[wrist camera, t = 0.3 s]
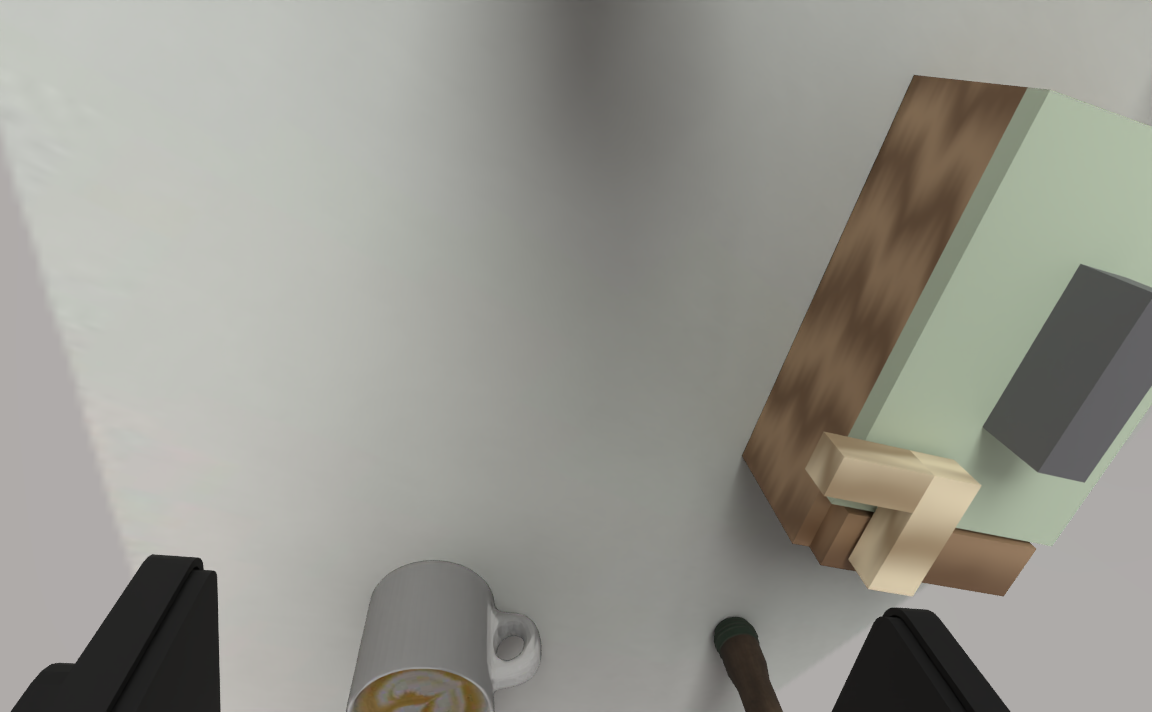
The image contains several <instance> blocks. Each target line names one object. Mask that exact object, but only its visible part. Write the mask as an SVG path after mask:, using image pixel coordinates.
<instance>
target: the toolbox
mask: <svg viewBox="0 0 1152 712" xmlns="http://www.w3.org/2000/svg"><path fill="white" fill-rule="evenodd" d="M1027 88H1028V87H1018V86H1009V85H1000V84H991V83H982V82H973V81H964V80H954V79H945V78H936V77H927V76H918V75H914V76H913V79H912V81H911V83H910V85H909V87H908V90H907V92H906V94H905V96H904V98H903V101H902V103H901V105H900V107H899V110H898V112H897V114H896V116H895V118H894V121H893V123H892V125H891V127H890V129H889V132H888V134H887V136H886V138H885V141H884V143H883V145H882V147H881V149H880V152H879V154H878V156H877V158H876V160H875V163H874V165H873V167H872V169H871V172H870V174H869V176H868V178H867V180H866V183H865V185H864V187H863V189H862V191H861V194H860V196H859V198H858V200H857V203H856V205H855V207H854V209H853V211H852V214H851V216H850V218H849V220H848V222H847V225H846V227H845V229H844V231H843V234H842V236H841V238H840V240H839V242H838V245H837V247H836V249H835V251H834V253H833V256H832V258H831V260H830V262H829V265H828V267H827V269H826V271H825V273H824V276H823V278H822V280H821V282H820V284H819V287H818V289H817V291H816V293H815V296H814V298H813V300H812V302H811V304H810V307H809V309H808V311H807V313H806V315H805V318H804V320H803V322H802V324H801V327H800V329H799V331H798V333H797V335H796V338H795V340H794V342H793V344H792V346H791V349H790V351H789V353H788V355H787V358H786V360H785V362H784V364H783V366H782V369H781V371H780V373H779V375H778V377H777V380H776V382H775V384H774V386H773V389H772V391H771V393H770V395H769V397H768V400H767V402H766V404H765V406H764V408H763V411H762V413H761V415H760V417H759V420H758V422H757V424H756V426H755V428H754V431H753V433H752V435H751V437H750V439H749V442H748V444H747V446H746V448H745V451H744V453H743V455H742V457H743V458H744V460H745V462H746V464H747V465H748V467H749V469H750V470H751V472H752V474H753V476H754V477H755V479H756V481H757V483H758V484H759V486H760V488H761V490H762V491H763V493H764V495H765V497H766V498H767V500H768V502H769V504H770V505H771V507H772V509H773V510H774V512H775V514H776V516H777V517H778V519H779V521H780V523H781V524H782V526H783V528H784V530H785V531H786V533H787V535H788V537H789V538H790V540H791V542H792V544H798V545H804V546H809V547H810V548H811V550H812V552H813V553H814V555H815V557H816V558H817V560H818V562H819V563H820V565H823V566H829V567H835V568H840V569H846V570H852V571H856V570H855V569H854V567H853V565H852V564H851V562H850V561H849V557H850V555H851V553H852V552H853V550H854V548H855V546H856V545H857V543H858V541H859V539H860V537H861V536H862V534H863V532H864V530H865V529H866V527H867V525H868V523H869V521H870V520H871V518H872V516H873V514H874V513H875V512H872V511H866V510H861V509H856V508H851V507H846V506H840V505H835V504H831V502H830V501H829V499H828V498H827V497H826V496H824V495H823V494H822V492H821V491H820V490H819V488H818V487H817V485H816V484H815V482H814V481H813V480H812V478H811V477H810V475H809V474H808V472H807V471H806V470H805V468H806V466H807V464H808V462H809V460H810V458H811V456H812V454H813V452H814V450H815V448H816V446H817V444H818V442H819V440H820V438H821V436H822V434H823V432H828V433H833V434H838V435H842V436H847V437H848V435H849V433H850V431H851V429H852V427H853V425H854V423H855V421H856V419H857V417H858V416H859V414H860V412H861V410H862V408H863V406H864V404H865V402H866V400H867V398H868V396H869V394H870V392H871V390H872V388H873V386H874V385H875V383H876V381H877V379H878V377H879V375H880V373H881V371H882V369H883V367H884V365H885V363H886V361H887V359H888V357H889V355H890V353H891V352H892V350H893V348H894V346H895V344H896V342H897V340H898V338H899V336H900V334H901V332H902V330H903V328H904V326H905V324H906V322H907V320H908V319H909V317H910V315H911V313H912V311H913V309H914V307H915V305H916V303H917V301H918V299H919V297H920V295H921V293H922V291H923V289H924V288H925V286H926V284H927V282H928V280H929V278H930V276H931V274H932V272H933V270H934V268H935V266H936V264H937V262H938V260H939V258H940V256H941V255H942V253H943V251H944V249H945V247H946V245H947V243H948V241H949V239H950V237H951V235H952V233H953V231H954V229H955V227H956V225H957V224H958V222H959V220H960V218H961V216H962V214H963V212H964V210H965V208H966V206H967V204H968V202H969V200H970V198H971V196H972V194H973V192H974V191H975V189H976V187H977V185H978V183H979V181H980V179H981V177H982V175H983V173H984V171H985V169H986V167H987V165H988V163H989V161H990V160H991V158H992V156H993V154H994V152H995V150H996V148H997V146H998V144H999V142H1000V140H1001V138H1002V136H1003V134H1004V132H1005V130H1006V128H1007V127H1008V125H1009V123H1010V121H1011V119H1012V117H1013V115H1014V113H1015V111H1016V109H1017V107H1018V105H1019V103H1020V101H1021V99H1022V97H1023V96H1024V94H1025V92H1026V90H1027ZM1035 550H1036V548H1035V547H1034V546H1033V545H1032V544H1031V543H1030V542H1027V541H1022V540H1017V539H1012V538H1007V537H1002V536H996V535H991V534H986V533H981V532H976V531H970V530H965V529H960V528H955V529H954V531H953V533H952V534H951V536H950V537H949V539H948V541H947V542H946V544H945V545H944V547H943V549H942V550H941V552H940V553H939V555H938V557H937V558H936V560H935V561H934V563H933V565H932V566H931V568H930V569H929V571H928V573H927V574H926V576H925V577H924V579H923V581H922V583H928V584H934V585H940V586H946V587H952V588H958V589H963V590H969V591H975V592H981V593H987V594H993V595H999V596H1004V595H1005V594H1006V592H1007V591H1008V589H1009V588H1010V586H1011V585H1012V583H1013V582H1014V581H1015V579H1016V577H1017V576H1018V575H1019V573H1020V572H1021V570H1022V569H1023V568H1024V566H1025V565H1026V563H1027V562H1028V560H1029V559H1030V557H1031V556H1032V555H1033V553H1034V552H1035Z"/></svg>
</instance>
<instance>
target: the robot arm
mask: <svg viewBox="0 0 1152 712" xmlns="http://www.w3.org/2000/svg"><path fill="white" fill-rule="evenodd" d="M11 712H220V673H219V631H218V590H217V574H216V572H215V571H210V570H204V568H203V562H202V560H201V558H195V557H181V556H167V555H153V554H152V555H151V556H149V557H147V559H146V560H145V561H144V562H143V563H142V565H141V566H140V568H139V569H138V571H137V572H136V574H135V575H134V577H133V578H132V580H131V581H130V583H129V584H128V586H127V587H126V589H125V590H124V592H123V593H122V595H121V596H120V598H119V599H118V601H117V602H116V604H115V605H114V607H113V608H112V610H111V611H110V613H109V614H108V616H107V617H106V619H105V620H104V622H103V623H102V625H101V626H100V628H99V629H98V631H97V632H96V634H95V635H94V637H93V638H92V640H91V641H90V643H89V644H88V645H87V647H86V648H85V650H84V652H83V653H82V654H81V656H80V657H79V659H78V661H77V662H76V663H75V664H73V663H55V664H51V665H49V666H48V667H47V668H45V669H44V670H42V671H41V672H40V673H39V675H38V676H37V677H36V678H35V679H34V680H33V682H32V683H31V684H30V685H29V687H28V688H27V690H26V691H25V692H24V694H23V695H22V697H21V698H20V699H19V701H18V702H17V704H16V705H15V706H14V708H13V709H12V711H11ZM832 712H1010V711H1009V709H1008V708H1007V707H1006V705H1005V704H1004V703H1003V702H1002V700H1001V699H1000V698H999V696H998V695H997V693H996V692H995V691H994V690H993V688H992V687H991V686H990V684H989V683H988V682H987V680H986V679H985V678H984V676H983V675H982V674H981V673H980V671H979V670H978V669H977V667H976V666H975V665H974V663H973V662H972V661H971V659H970V658H969V657H968V655H967V654H966V653H965V651H964V650H963V649H962V647H961V646H960V645H959V644H958V642H957V641H956V640H955V638H954V637H953V636H952V634H951V633H950V632H949V630H948V629H947V628H946V627H945V625H944V624H943V623H942V621H941V620H940V619H939V618H938V617H937V616H936V615H935V614H934V613H933V612H931V611H929V610H923V609H909V608H890V609H888V610H886V612H885V613H884V614H883V616H882V617H879V618H877V619H876V620H875V622H874V623H873V625H872V628H871V630H870V632H869V634H868V636H867V638H866V640H865V642H864V645H863V647H862V649H861V651H860V653H859V655H858V657H857V659H856V661H855V663H854V666H853V668H852V670H851V672H850V674H849V676H848V678H847V680H846V682H845V685H844V687H843V689H842V691H841V693H840V695H839V698H838V699H837V702H836V704H835V706H834V708H833V710H832Z"/></svg>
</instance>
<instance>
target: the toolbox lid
mask: <svg viewBox="0 0 1152 712" xmlns="http://www.w3.org/2000/svg"><path fill="white" fill-rule="evenodd" d="M1151 404H1152V127H1151V126H1148V125H1146V124H1143V123H1140V122H1137V121H1135V120H1132V119H1129V118H1126V117H1123V116H1121V115H1118V114H1115V113H1112V112H1110V111H1107V110H1104V109H1101V108H1099V107H1096V106H1093V105H1090V104H1088V103H1085V102H1082V101H1079V100H1077V99H1074V98H1071V97H1068V96H1066V95H1063V94H1060V93H1057V92H1054V91H1052V90H1046V89H1037V88H1027V90H1026V92H1025V94H1024V96H1023V97H1022V99H1021V101H1020V103H1019V105H1018V107H1017V109H1016V111H1015V113H1014V115H1013V117H1012V119H1011V121H1010V123H1009V125H1008V127H1007V128H1006V130H1005V132H1004V134H1003V136H1002V138H1001V140H1000V142H999V144H998V146H997V148H996V150H995V152H994V154H993V156H992V158H991V160H990V161H989V163H988V165H987V167H986V169H985V171H984V173H983V175H982V177H981V179H980V181H979V183H978V185H977V187H976V189H975V191H974V192H973V194H972V196H971V198H970V200H969V202H968V204H967V206H966V208H965V210H964V212H963V214H962V216H961V218H960V220H959V222H958V224H957V225H956V227H955V229H954V231H953V233H952V235H951V237H950V239H949V241H948V243H947V245H946V247H945V249H944V251H943V253H942V255H941V256H940V258H939V260H938V262H937V264H936V266H935V268H934V270H933V272H932V274H931V276H930V278H929V280H928V282H927V284H926V286H925V288H924V289H923V291H922V293H921V295H920V297H919V299H918V301H917V303H916V305H915V307H914V309H913V311H912V313H911V315H910V317H909V319H908V320H907V322H906V324H905V326H904V328H903V330H902V332H901V334H900V336H899V338H898V340H897V342H896V344H895V346H894V348H893V350H892V352H891V353H890V355H889V357H888V359H887V361H886V363H885V365H884V367H883V369H882V371H881V373H880V375H879V377H878V379H877V381H876V383H875V385H874V386H873V388H872V390H871V392H870V394H869V396H868V398H867V400H866V402H865V404H864V406H863V408H862V410H861V412H860V414H859V416H858V417H857V419H856V421H855V423H854V425H853V427H852V429H851V431H850V433H849V435H848V437H851V438H856V439H861V440H865V441H870V442H874V443H879V444H884V445H888V446H893V447H897V448H902V449H907V450H911V451H916V452H921V453H925V454H930V455H934V456H939V457H944V458H948V459H953V460H955V461H956V462H957V463H958V464H959V465H960V466H961V467H962V468H964V469H965V470H966V471H967V472H968V473H969V474H970V475H971V476H972V477H973V478H974V479H975V480H976V481H977V482H978V483H979V484H981V485H982V486H981V488H980V489H979V491H978V493H977V494H976V496H975V497H974V499H973V501H972V502H971V504H970V505H969V507H968V509H967V510H966V512H965V513H964V515H963V517H962V518H961V520H960V521H959V523H958V525H957V526H956V528H960V529H965V530H970V531H976V532H981V533H986V534H991V535H996V536H1002V537H1007V538H1012V539H1017V540H1022V541H1027V542H1033V543H1038V544H1043V545H1048V546H1053V544H1054V543H1055V541H1056V540H1057V538H1058V537H1059V536H1060V534H1061V533H1062V531H1063V530H1064V528H1065V527H1066V526H1067V524H1068V523H1069V521H1070V520H1071V518H1072V517H1073V516H1074V514H1075V513H1076V511H1077V510H1078V508H1079V507H1080V505H1081V504H1082V503H1083V501H1084V500H1085V498H1086V497H1087V495H1088V494H1089V492H1090V491H1091V490H1092V489H1093V487H1094V485H1095V484H1096V483H1097V481H1098V480H1099V479H1100V477H1101V476H1102V474H1103V473H1104V471H1105V470H1106V469H1107V467H1108V466H1109V464H1110V463H1111V461H1112V460H1113V459H1114V457H1115V456H1116V454H1117V453H1118V451H1119V450H1120V449H1121V447H1122V446H1123V444H1124V443H1125V441H1126V440H1127V439H1128V437H1129V436H1130V434H1131V433H1132V431H1133V430H1134V429H1135V427H1136V426H1137V424H1138V423H1139V421H1140V420H1141V419H1142V417H1143V416H1144V414H1145V413H1146V412H1147V410H1148V409H1149V407H1150V406H1151ZM826 497H827V496H826ZM827 498H828V499H829V501H830V502H831V504H835V505H840V506H846V507H851V508H856V509H861V510H866V511H872V512H875V511H876V509H877V507H878V506H873V505H868V504H863V503H858V502H853V501H848V500H842V499H837V498H832V497H827Z"/></svg>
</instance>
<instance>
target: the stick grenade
mask: <svg viewBox="0 0 1152 712" xmlns="http://www.w3.org/2000/svg"><path fill="white" fill-rule="evenodd" d="M714 643H715V647H716V649H717V652H718V653H719V654H720V657H721V658H722V660H723V663H724V665H725V668H726V671H727V673H728V676H729V677H730V679H731V680H732V682H733V684H734V685H735V687H736V688H737V690H738V692H739V695H740V698H741V700H742V703H743V706H744V709H745V711H746V712H783V711H782V709H781V706H780V704H779V701H778V699H777V696H776V694H775V692H774V689H773V687H772V685H771V682H770V680H769V674H768V669H767V663H766V660H765V658H764V655H763V653H762V650H761V648H760V646H759V640H758V635H757V633H756V631H755V629H754V627H753V626H752V625H751V624H750V623H749V622H748V621H746V620H745V619H743V618H740V617H732V618H728V619H725V620H724V621H722V622H721V623H720V624H719V625H718V626H717V627H716V629H715V636H714Z"/></svg>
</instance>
